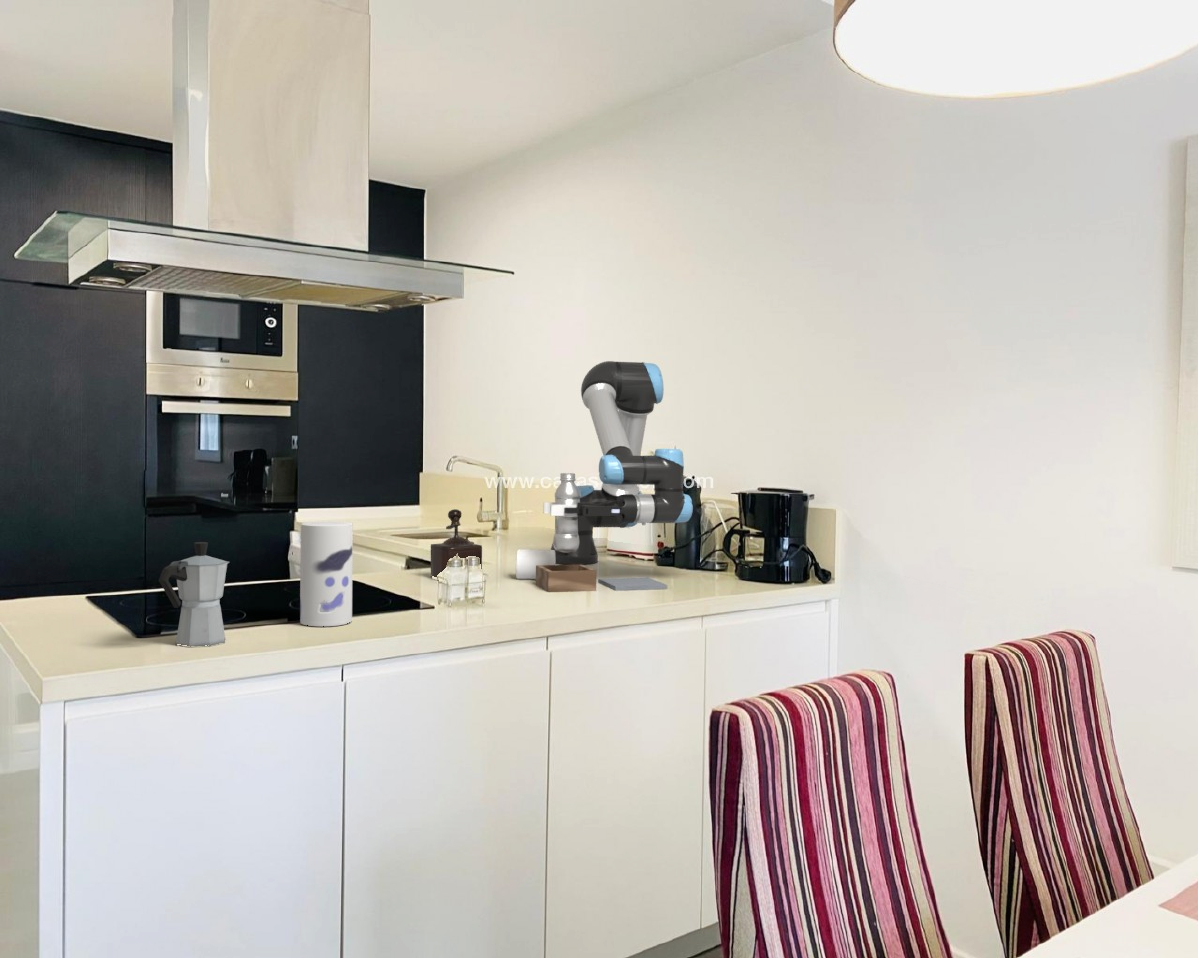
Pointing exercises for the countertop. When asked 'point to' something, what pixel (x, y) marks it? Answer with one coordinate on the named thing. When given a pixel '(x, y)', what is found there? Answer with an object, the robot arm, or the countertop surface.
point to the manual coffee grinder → (452, 547)
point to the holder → (566, 578)
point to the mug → (532, 562)
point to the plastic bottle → (566, 525)
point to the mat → (632, 583)
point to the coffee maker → (197, 597)
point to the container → (326, 573)
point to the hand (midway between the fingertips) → (547, 509)
